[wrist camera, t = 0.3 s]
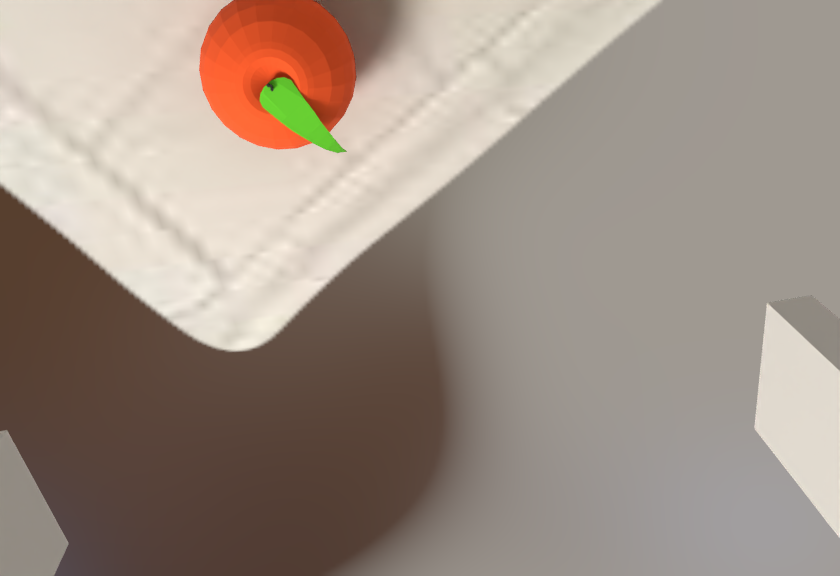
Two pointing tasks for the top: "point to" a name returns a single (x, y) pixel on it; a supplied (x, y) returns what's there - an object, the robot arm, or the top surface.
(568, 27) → the top surface
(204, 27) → the top surface
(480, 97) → the top surface
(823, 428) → the robot arm
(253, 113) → the clementine
